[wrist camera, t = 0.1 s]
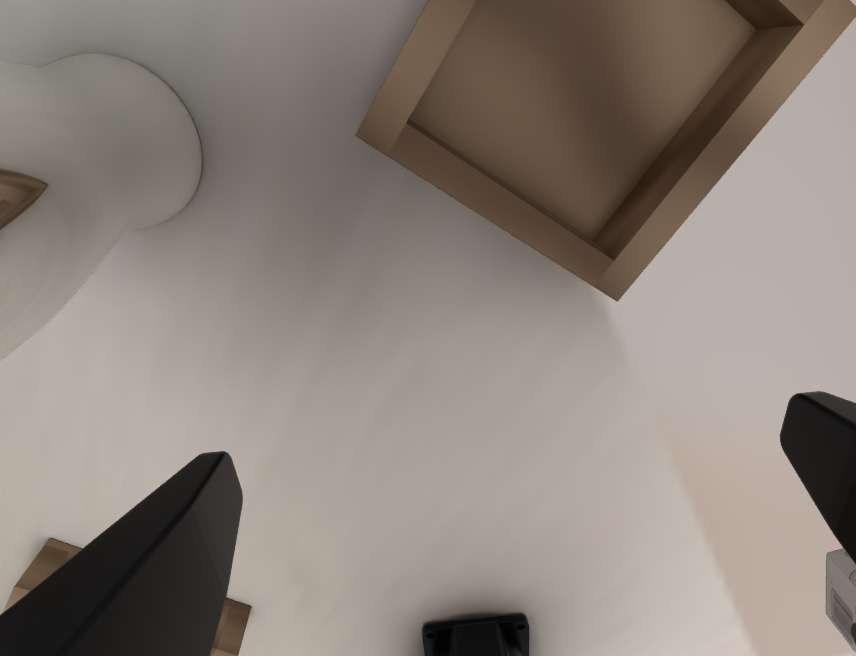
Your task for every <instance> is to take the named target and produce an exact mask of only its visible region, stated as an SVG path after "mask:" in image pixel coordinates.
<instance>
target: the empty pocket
mask: <svg viewBox="0 0 856 656" xmlns="http://www.w3.org/2000/svg"><path fill="white" fill-rule="evenodd" d="M855 17H856V6H855V5H854V4H853V3H852V2H851V1H850V0H428V2H427V4H426V6H425V8H424V10H423V12H422V13H421V15H420V17H419V19H418V21H417V23H416V24H415V26H414V28H413V30H412V32H411V34H410V36H409V37H408V39H407V41H406V43H405V45H404V47H403V48H402V50H401V52H400V54H399V56H398V58H397V60H396V61H395V63H394V65H393V67H392V69H391V71H390V72H389V74H388V76H387V78H386V80H385V82H384V84H383V85H382V87H381V89H380V91H379V93H378V95H377V96H376V98H375V100H374V102H373V104H372V106H371V108H370V109H369V111H368V113H367V115H366V117H365V119H364V120H363V122H362V124H361V126H360V128H359V130H358V132H357V133H356V135H355V136H357V137H358V138H360V139H361V140H363V141H365V142H366V143H368V144H369V145H371V146H372V147H374V148H376V149H377V150H379V151H380V152H382V153H383V154H385V155H387V156H388V157H390V158H391V159H393V160H395V161H396V162H398V163H399V164H401V165H402V166H404V167H406V168H407V169H409V170H410V171H412V172H413V173H415V174H417V175H418V176H420V177H421V178H423V179H424V180H426V181H428V182H429V183H431V184H432V185H434V186H436V187H437V188H439V189H440V190H442V191H443V192H445V193H447V194H448V195H450V196H451V197H453V198H454V199H456V200H458V201H459V202H461V203H462V204H464V205H466V206H467V207H469V208H470V209H472V210H473V211H475V212H477V213H478V214H480V215H481V216H483V217H484V218H486V219H488V220H489V221H491V222H492V223H494V224H496V225H497V226H499V227H500V228H502V229H503V230H505V231H507V232H508V233H510V234H511V235H513V236H514V237H516V238H518V239H519V240H521V241H522V242H524V243H526V244H527V245H529V246H530V247H532V248H533V249H535V250H537V251H538V252H540V253H541V254H543V255H544V256H546V257H548V258H549V259H551V260H552V261H554V262H556V263H557V264H559V265H560V266H562V267H563V268H565V269H567V270H568V271H570V272H571V273H573V274H574V275H576V276H578V277H579V278H581V279H582V280H584V281H586V282H587V283H589V284H590V285H592V286H593V287H595V288H597V289H598V290H600V291H601V292H603V293H604V294H606V295H608V296H609V297H611V298H612V299H614V300H616V301H618V300H619V299H620V298H621V297H622V296H623V294H624V293H625V292H626V291H627V290H628V288H629V287H630V286H631V285H632V284H633V282H634V281H635V280H636V279H637V278H638V276H639V275H640V274H641V273H642V272H643V270H644V269H645V268H646V267H647V266H648V264H649V263H650V262H651V261H652V260H653V258H654V257H655V256H656V255H657V254H658V252H659V251H660V250H661V249H662V248H663V247H664V245H665V244H666V243H667V242H668V241H669V239H670V238H671V237H672V236H673V235H674V233H675V232H676V231H677V230H678V229H679V227H680V226H681V225H682V224H683V223H684V221H685V220H686V219H687V218H688V217H689V215H690V214H691V213H692V212H693V211H694V209H695V208H696V207H697V206H698V205H699V204H700V202H701V201H702V200H703V199H704V198H705V196H706V195H707V194H708V193H709V192H710V190H711V189H712V188H713V187H714V186H715V184H716V183H717V182H718V181H719V180H720V178H721V177H722V176H723V174H725V172H726V171H727V170H728V169H729V167H730V166H731V165H732V164H733V163H734V161H735V160H736V159H737V158H738V157H739V156H740V154H741V153H742V152H743V151H744V150H745V149H746V147H747V146H748V145H749V144H750V142H751V141H752V140H753V139H754V138H755V137H756V135H757V134H758V133H759V132H760V131H761V129H762V128H763V127H764V126H765V125H766V123H767V122H768V121H769V120H770V118H771V117H772V116H773V115H774V114H775V113H776V111H777V110H778V109H779V108H780V107H781V105H782V104H783V103H784V102H785V101H786V99H787V98H788V97H789V96H790V95H791V94H792V92H793V91H794V90H795V89H796V88H797V86H798V85H799V84H800V82H802V80H803V79H804V78H805V77H806V76H807V74H808V73H809V72H810V71H811V70H812V68H813V67H814V66H815V65H816V64H817V62H818V61H819V60H820V59H821V58H822V56H823V55H824V54H825V53H826V52H827V50H828V49H829V48H830V47H831V46H832V44H833V43H834V42H835V41H836V40H837V38H838V37H839V36H840V35H841V34H842V33H843V31H844V30H845V29H846V28H847V26H848V25H849V24H850V23H851V22H852V21H853V19H854V18H855Z"/></svg>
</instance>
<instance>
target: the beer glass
mask: <svg viewBox="0 0 856 656" xmlns="http://www.w3.org/2000/svg"><path fill="white" fill-rule="evenodd" d="M201 169H202V151H201V144H200V140H199V136H198V133H197V130H196V127H195V125H194V122H193V120H192V118H191V116H190V114H189V112H188V111H187V109H186V107H185V106H184V104H183V103H182V101H181V100H180V99H179V97H178V96H177V95H176V94H175V93H174V92H173V90H172V89H171V88H170V87H169V86H168V85H167V84H165V83H164V82H163V81H162V80H161V79H160V78H158V77H157V76H156V75H154V74H153V73H152V72H150V71H148V70H147V69H145V68H143V67H142V66H140V65H138V64H136V63H134V62H131V61H129V60H126V59H124V58H121V57H117V56H113V55H108V54H100V53H87V54H78V55H73V56H69V57H65V58H62V59H59V60H57V61H54V62H52V63H49V64H47V65H44V66H42V67H33V66H29V65H25V64H21V63H17V62H14V61H10V60H7V59H4V58H0V361H1V360H2V359H4V358H5V357H7V356H8V355H9V354H11V353H12V352H13V351H14V350H16V349H17V348H18V347H19V346H21V345H22V344H23V343H24V342H25V341H27V340H28V339H29V338H30V337H32V336H33V335H34V334H35V333H36V332H38V331H39V330H40V329H41V328H43V327H44V326H45V325H46V324H47V323H49V322H50V321H51V320H52V319H53V318H54V317H55V316H56V315H57V314H58V313H59V312H60V311H61V310H62V308H63V307H64V306H65V305H66V304H67V303H68V302H69V301H70V300H71V299H72V298H73V297H74V296H75V294H76V293H77V292H78V291H79V290H80V289H81V288H82V287H83V286H84V285H85V283H86V282H87V281H88V279H89V278H90V277H91V276H92V274H93V273H94V272H95V271H96V269H97V268H98V267H99V265H100V264H101V263H102V262H103V260H104V259H105V258H106V256H107V255H108V254H109V252H110V251H111V250H112V248H113V247H114V246H115V244H116V243H117V242H118V240H119V239H120V238H121V237H122V236H123V235H124V234H125V233H126V232H127V231H131V230H136V229H141V228H146V227H150V226H153V225H156V224H159V223H161V222H164V221H166V220H168V219H169V218H171V217H173V216H174V215H176V214H177V213H178V212H180V211H181V210H182V209H183V208H184V207H185V206H186V205H187V203H188V202H189V201H190V199H191V198H192V196H193V195H194V193H195V191H196V188H197V186H198V183H199V180H200V175H201Z"/></svg>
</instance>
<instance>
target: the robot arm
mask: <svg viewBox="0 0 856 656" xmlns="http://www.w3.org/2000/svg"><path fill="white" fill-rule="evenodd" d="M780 442H781V446H782V449H783V451H784V453H785V454H786V456H787V458H788V459H789V461H790V463H791V464H792V466H793V468H794V469H795V471H796V473H797V474H798V476H799V478H800V479H801V481H802V483H803V484H804V486H805V488H806V489H807V491H808V493H809V495H810V496H811V498H812V499H813V501H814V503H815V505H816V506H817V508H818V509H819V511H820V513H821V515H822V516H823V518H824V520H825V521H826V523H827V524H828V526H829V527H830V529H831V531H832V532H833V534H834V535H835V537H836V538H837V540H838V541H839V542H840V544H841V545H842V547H843V548H844V550H845V551H846V552H847V554H848V555H849V556H850V558H851V559H852V560H853V562H854V563H855V564H856V403H854V402H851V401H848V400H845V399H843V398H840V397H837V396H834V395H831V394H828V393H825V392H820V391H817V392H806V393H798V394H795V395H793V396H792V397H791V399H790V400H789V403H788V407H787V410H786V414H785V418H784V422H783V425H782V429H781V433H780ZM242 503H243V495H242V489H241V486H240V483H239V480H238V477H237V474H236V470H235V467H234V464H233V461H232V458H231V456H230V455H229V453H227V452H225V451H220V452H210V453H203V454H200V455H198V456H197V457H196V458H195V459H193V460H192V461H191V462H190V463H188V464H187V465H186V466H185V467H183V468H182V469H181V470H180V471H178V472H177V473H176V474H175V475H173V476H172V477H171V478H170V479H168V480H167V481H166V482H165V483H163V484H162V485H161V486H160V487H159V488H157V489H156V490H155V491H154V492H152V493H151V494H150V495H149V496H147V497H146V498H145V499H144V500H142V501H141V502H140V503H139V504H137V505H136V506H135V507H134V508H132V509H131V510H130V511H129V512H127V513H126V514H125V515H124V516H123V517H121V518H120V519H119V520H118V521H116V522H115V523H114V524H113V525H111V526H110V527H109V528H108V529H106V530H105V531H104V532H103V533H101V534H100V535H99V536H98V537H96V538H95V539H94V540H93V541H91V542H90V543H89V544H88V545H87V546H85V547H84V548H83V549H82V550H80V551H79V552H78V553H77V554H75V555H74V556H73V557H72V558H70V559H69V560H68V561H67V562H65V563H64V564H63V565H62V566H60V567H59V568H58V569H57V570H55V571H54V572H53V573H52V574H51V575H49V576H48V577H47V578H46V579H44V580H43V581H42V582H41V583H39V584H38V585H37V586H36V587H34V588H33V589H32V590H31V591H29V592H28V593H27V594H26V595H24V596H23V597H22V598H21V599H19V600H18V601H17V602H16V603H14V604H13V605H12V606H11V607H9V608H8V609H7V610H6V611H5V612H3V613H2V614H1V615H0V656H210V653H211V650H212V646H213V643H214V639H215V636H216V632H217V629H218V625H219V622H220V618H221V615H222V611H223V607H224V603H225V600H226V596H227V590H228V585H229V580H230V574H231V568H232V563H233V557H234V551H235V545H236V539H237V533H238V527H239V522H240V516H241V510H242ZM422 637H423V645H424V652H425V656H529V624H528V620H527V618H526V617H525V616H521V615H519V616H509V617H499V618H488V619H478V620H468V621H458V622H448V623H438V624H429V625H426V626H424V627H423V628H422Z"/></svg>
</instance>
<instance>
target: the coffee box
mask: <svg viewBox="0 0 856 656" xmlns="http://www.w3.org/2000/svg"><path fill="white" fill-rule="evenodd" d="M826 614H827V616H828V617H829V619H830V620H831V621H832V623H833V624H834V625H835V626H836V628H837V629H838V630H839V631H840V633H841V634H842V635H843V637H844V638H845V639H846V640H847V642H848V643H849V645H850V646H851V647H852V649H853V650H854V651H855V652H856V564H855V563H854V562H853V560H852V559H851V558H850V556H849V555H848V554H847V552H846V551H845V550H844V548H843V549H839V550H836V551H832V552H829V553H827V556H826Z"/></svg>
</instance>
